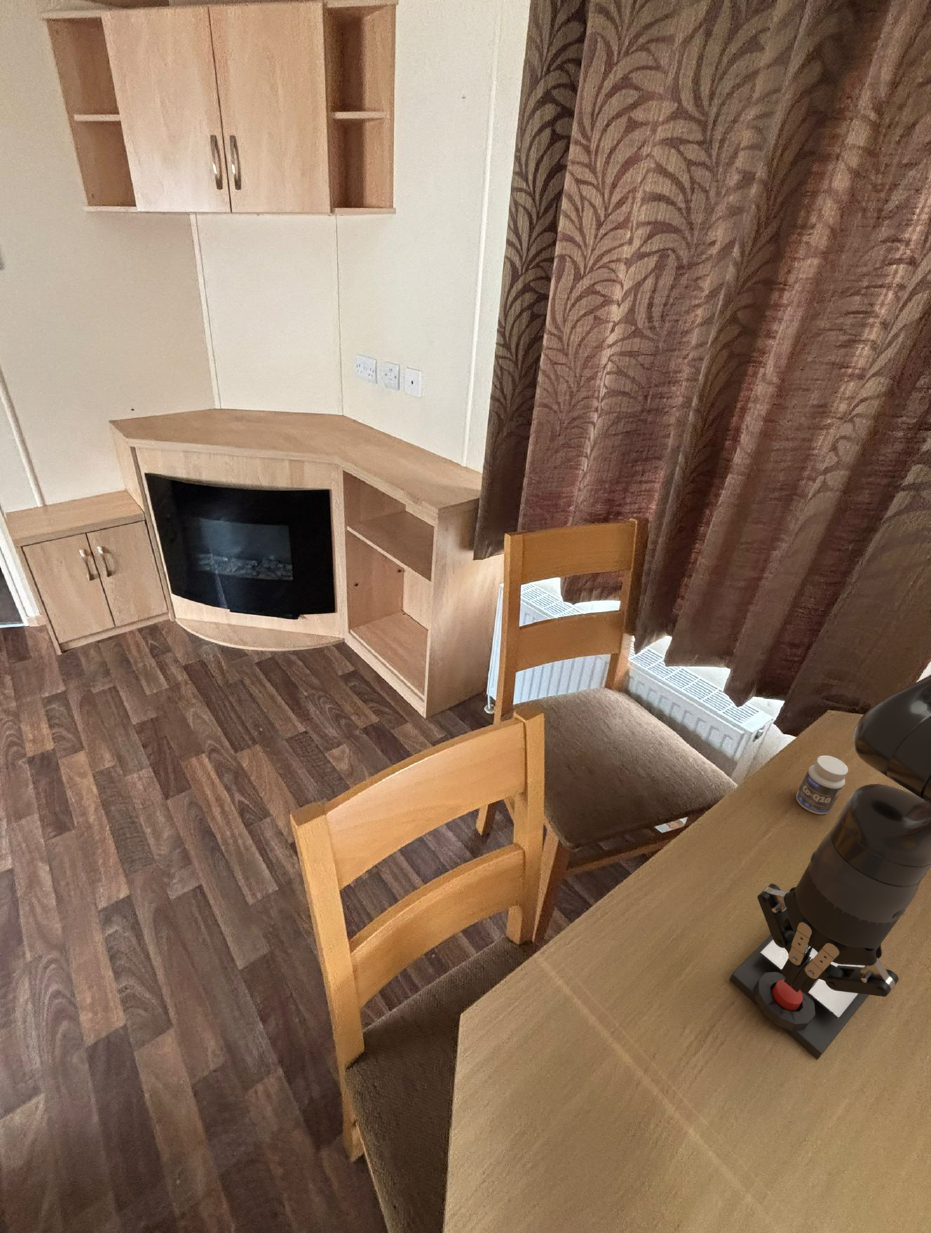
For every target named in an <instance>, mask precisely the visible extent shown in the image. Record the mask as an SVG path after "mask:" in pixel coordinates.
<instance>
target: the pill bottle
mask: <svg viewBox="0 0 931 1233" xmlns="http://www.w3.org/2000/svg"><path fill="white" fill-rule="evenodd" d="M848 773H849V768H848V766H847V765H846V763H845V762H844V761H842V760H841V759H839V758H837V757H834V756H832V755H820V756H818V757H817V758H816V760H815V762H814V764H812V765H810V766H809V768H808V769H807V771H806V774H805V776H804V778H803V780H802V782H801V784H800V785H799V787H798V790H797V792H796V794H795V799H796V801H797V803H798V804H799V806H801V807H802V808H803V809H804V810H806V811H808V812H809V813H813V814H816V815H826V814H829V813H830V812H831V810H832V809H833V807H834V805H835V803H836V802H837V799H838V798H839V796H840V795H841V793H842V791H843V788H844V787H845V785H846V777H847V775H848Z"/></svg>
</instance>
